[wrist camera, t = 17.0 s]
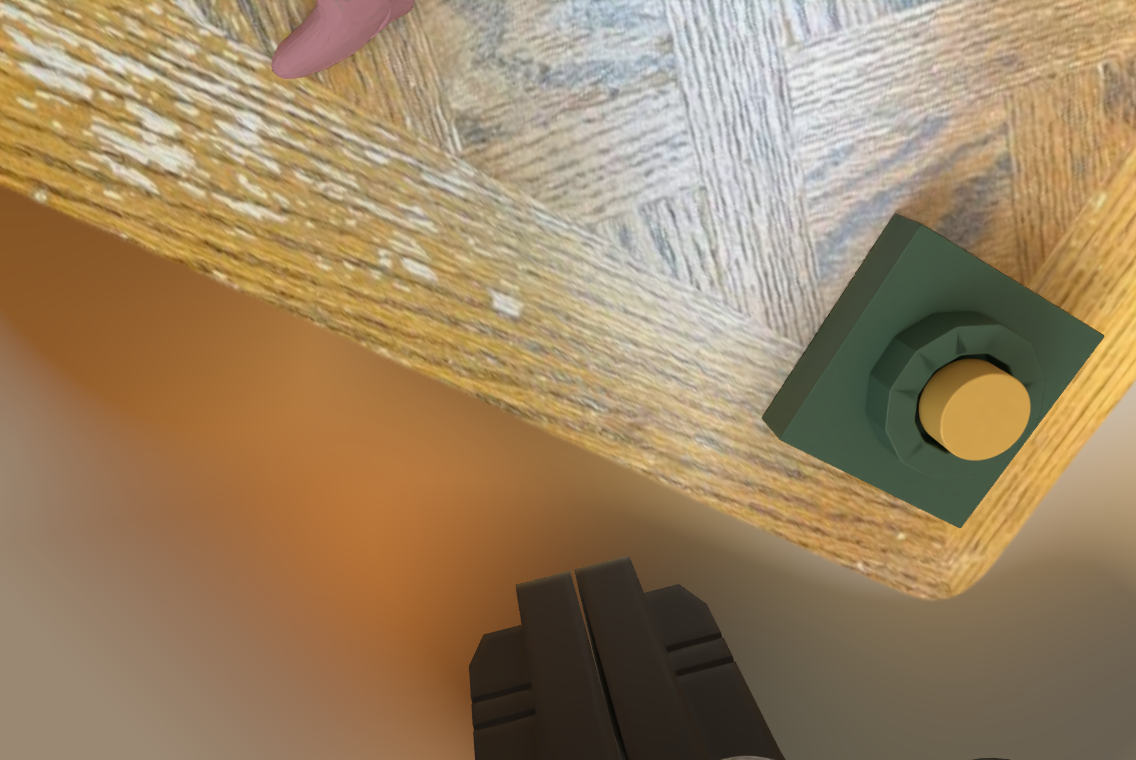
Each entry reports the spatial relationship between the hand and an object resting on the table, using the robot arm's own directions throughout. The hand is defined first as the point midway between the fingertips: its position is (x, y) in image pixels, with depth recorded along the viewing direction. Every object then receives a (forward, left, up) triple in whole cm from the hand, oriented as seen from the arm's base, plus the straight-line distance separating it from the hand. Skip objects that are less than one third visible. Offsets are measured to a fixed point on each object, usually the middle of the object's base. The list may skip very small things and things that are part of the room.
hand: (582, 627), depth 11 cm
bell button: (+16, -10, -21) cm, 28 cm away
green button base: (+16, -10, -24) cm, 31 cm away
